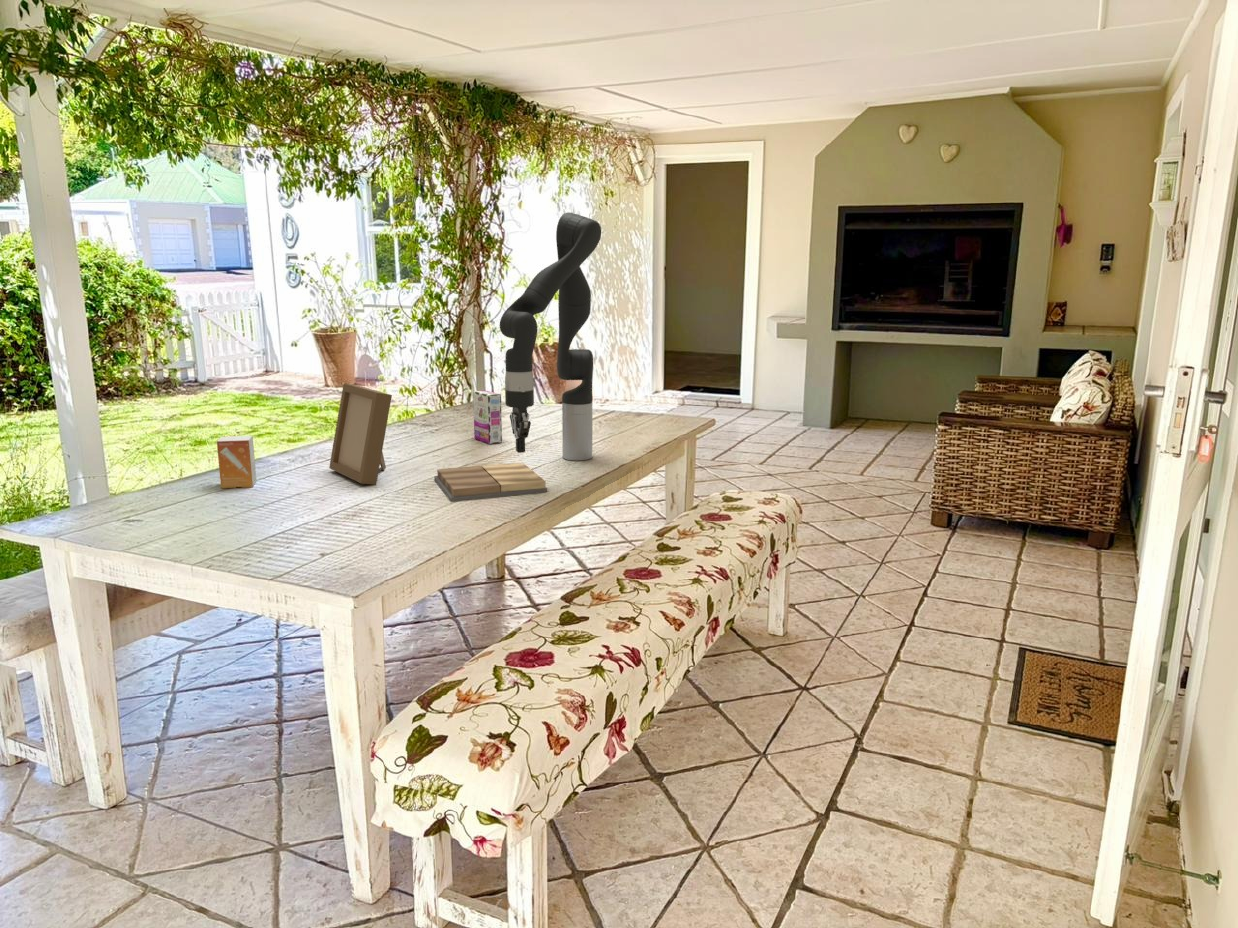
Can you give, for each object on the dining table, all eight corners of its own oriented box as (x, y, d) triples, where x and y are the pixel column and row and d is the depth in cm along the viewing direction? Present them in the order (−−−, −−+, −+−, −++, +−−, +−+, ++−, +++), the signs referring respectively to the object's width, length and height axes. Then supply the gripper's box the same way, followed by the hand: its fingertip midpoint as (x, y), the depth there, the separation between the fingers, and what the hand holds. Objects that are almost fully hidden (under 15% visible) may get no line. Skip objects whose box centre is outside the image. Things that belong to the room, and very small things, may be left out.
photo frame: (361, 487, 232) (356, 394, 227) (329, 471, 249) (324, 384, 243) (412, 479, 242) (408, 390, 236) (378, 464, 258) (374, 380, 252)
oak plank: (481, 472, 245) (481, 465, 244) (522, 469, 249) (522, 462, 249) (501, 491, 225) (501, 484, 224) (545, 488, 229) (545, 481, 229)
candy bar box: (503, 443, 287) (501, 394, 283) (489, 444, 284) (488, 395, 280) (486, 437, 296) (485, 389, 292) (473, 439, 293) (472, 390, 289)
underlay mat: (434, 479, 241) (434, 476, 240) (523, 471, 250) (523, 468, 250) (451, 501, 220) (450, 497, 220) (547, 492, 229) (547, 488, 229)
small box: (220, 489, 230) (215, 441, 227) (225, 483, 236) (220, 436, 233) (253, 487, 232) (249, 439, 229) (257, 481, 238) (252, 434, 235)
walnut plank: (437, 476, 240) (437, 469, 240) (480, 472, 245) (480, 465, 244) (453, 496, 220) (453, 489, 220) (499, 492, 225) (499, 484, 224)
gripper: (499, 385, 234) (500, 448, 238) (511, 392, 222) (513, 458, 226) (526, 384, 237) (527, 446, 241) (540, 390, 225) (540, 456, 229)
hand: (520, 452), depth 233 cm, fingers closed
